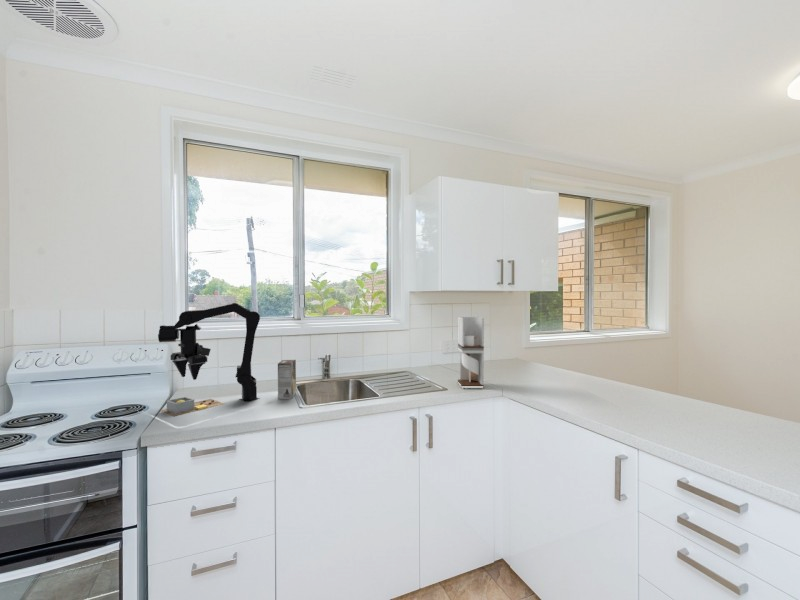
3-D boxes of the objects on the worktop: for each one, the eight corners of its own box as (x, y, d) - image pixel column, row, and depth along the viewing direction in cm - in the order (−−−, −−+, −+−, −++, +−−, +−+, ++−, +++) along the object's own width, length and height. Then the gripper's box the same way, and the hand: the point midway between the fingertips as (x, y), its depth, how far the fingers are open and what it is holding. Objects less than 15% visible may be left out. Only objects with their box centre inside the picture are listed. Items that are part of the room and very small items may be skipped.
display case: (457, 383, 196) (458, 317, 195) (477, 383, 196) (478, 317, 195) (462, 389, 184) (462, 318, 183) (483, 388, 185) (483, 318, 184)
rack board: (225, 405, 157) (225, 402, 157) (174, 417, 141) (174, 414, 141) (210, 400, 164) (210, 397, 164) (160, 411, 148) (160, 408, 148)
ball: (188, 409, 149) (188, 399, 149) (177, 412, 146) (177, 402, 146) (183, 407, 151) (183, 398, 151) (173, 410, 148) (172, 400, 148)
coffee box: (282, 393, 175) (282, 359, 175) (296, 393, 176) (296, 359, 175) (277, 399, 166) (277, 363, 166) (292, 398, 166) (292, 363, 166)
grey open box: (194, 409, 149) (194, 399, 149) (175, 414, 143) (175, 403, 143) (185, 406, 154) (185, 396, 153) (166, 410, 148) (166, 400, 148)
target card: (207, 407, 151) (207, 405, 151) (198, 410, 149) (198, 408, 148) (203, 406, 154) (203, 404, 154) (194, 408, 151) (194, 406, 151)
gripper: (219, 340, 157) (220, 377, 157) (196, 337, 167) (196, 372, 167) (192, 343, 147) (193, 382, 148) (169, 340, 158) (170, 376, 158)
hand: (189, 378), depth 155 cm, fingers open, 9 cm apart
